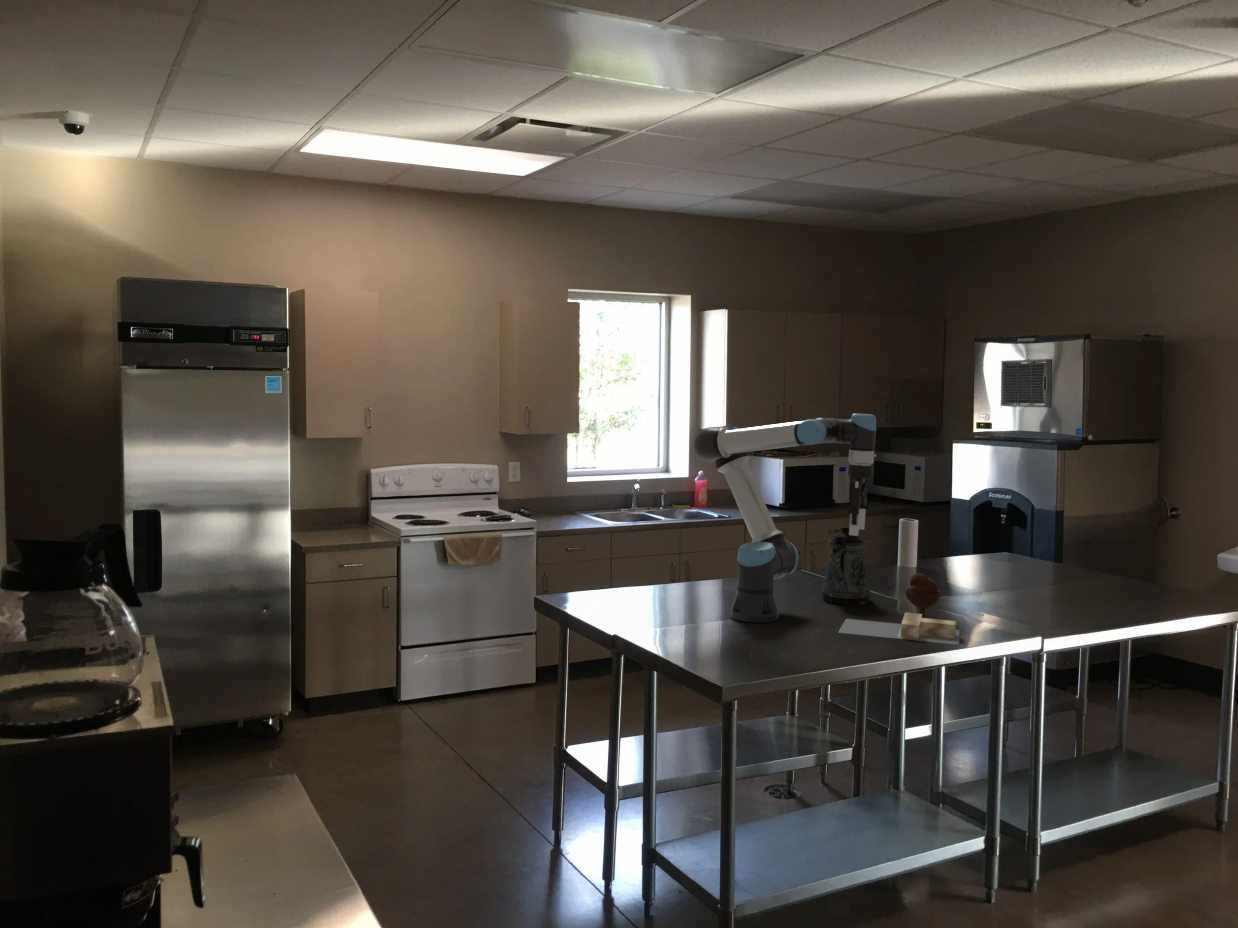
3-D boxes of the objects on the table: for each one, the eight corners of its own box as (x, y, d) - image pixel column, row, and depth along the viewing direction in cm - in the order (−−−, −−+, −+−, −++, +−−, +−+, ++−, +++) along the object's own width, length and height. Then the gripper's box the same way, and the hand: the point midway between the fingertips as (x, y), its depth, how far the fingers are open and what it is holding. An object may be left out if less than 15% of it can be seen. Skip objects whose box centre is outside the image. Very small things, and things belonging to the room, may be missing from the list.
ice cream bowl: (916, 625, 310) (918, 577, 309) (897, 617, 321) (899, 571, 320) (946, 623, 313) (948, 576, 312) (926, 615, 324) (928, 569, 323)
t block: (900, 637, 293) (901, 623, 293) (904, 625, 308) (905, 612, 308) (954, 642, 288) (955, 629, 288) (955, 630, 303) (956, 617, 303)
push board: (837, 633, 298) (837, 632, 298) (845, 619, 316) (845, 618, 316) (958, 645, 286) (958, 644, 286) (959, 630, 304) (959, 629, 304)
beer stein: (866, 596, 352) (869, 525, 350) (874, 608, 333) (877, 534, 331) (818, 594, 354) (821, 524, 352) (824, 606, 335) (827, 532, 333)
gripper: (868, 468, 295) (863, 539, 297) (878, 461, 318) (874, 527, 320) (842, 466, 297) (838, 536, 299) (854, 460, 320) (850, 525, 322)
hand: (856, 532), depth 310 cm, fingers open, 13 cm apart
